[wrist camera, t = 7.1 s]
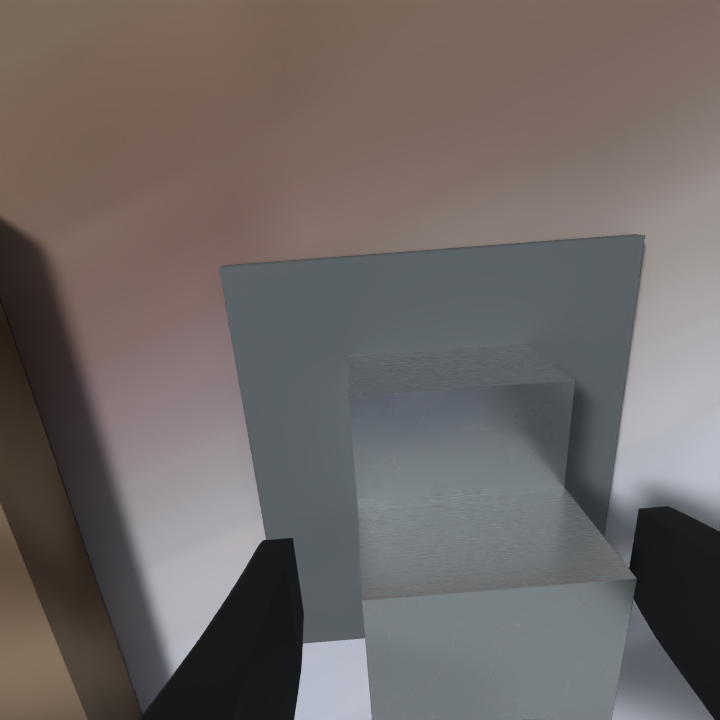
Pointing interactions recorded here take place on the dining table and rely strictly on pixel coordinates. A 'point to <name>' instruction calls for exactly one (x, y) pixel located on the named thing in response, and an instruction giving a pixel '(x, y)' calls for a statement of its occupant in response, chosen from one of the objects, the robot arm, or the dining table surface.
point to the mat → (402, 335)
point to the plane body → (47, 579)
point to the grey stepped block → (479, 542)
